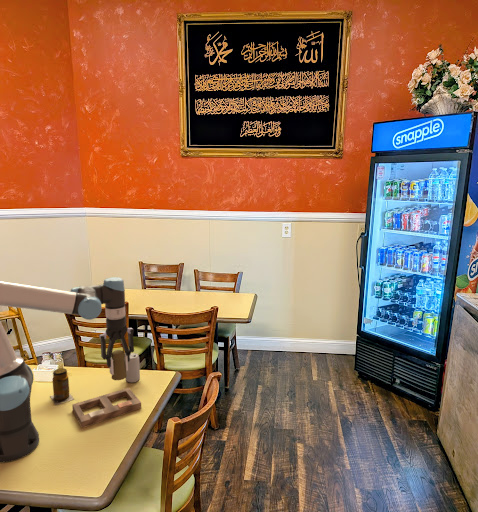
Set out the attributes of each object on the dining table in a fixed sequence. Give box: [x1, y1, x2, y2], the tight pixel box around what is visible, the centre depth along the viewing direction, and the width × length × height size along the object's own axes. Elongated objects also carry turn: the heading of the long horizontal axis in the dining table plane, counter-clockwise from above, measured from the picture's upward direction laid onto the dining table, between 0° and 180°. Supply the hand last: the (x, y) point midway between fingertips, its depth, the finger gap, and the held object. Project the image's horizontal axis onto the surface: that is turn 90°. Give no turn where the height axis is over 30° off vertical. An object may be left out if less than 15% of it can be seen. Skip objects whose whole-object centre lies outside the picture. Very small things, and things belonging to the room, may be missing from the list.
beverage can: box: [125, 352, 141, 383], centre depth 177 cm, size 6×6×12 cm
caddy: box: [71, 387, 142, 429], centre depth 155 cm, size 23×14×3 cm, turn 126°
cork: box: [111, 349, 127, 381], centre depth 156 cm, size 6×6×11 cm
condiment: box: [50, 367, 75, 406], centre depth 161 cm, size 7×8×12 cm
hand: (118, 371), depth 156 cm, fingers closed on cork, 5 cm apart
